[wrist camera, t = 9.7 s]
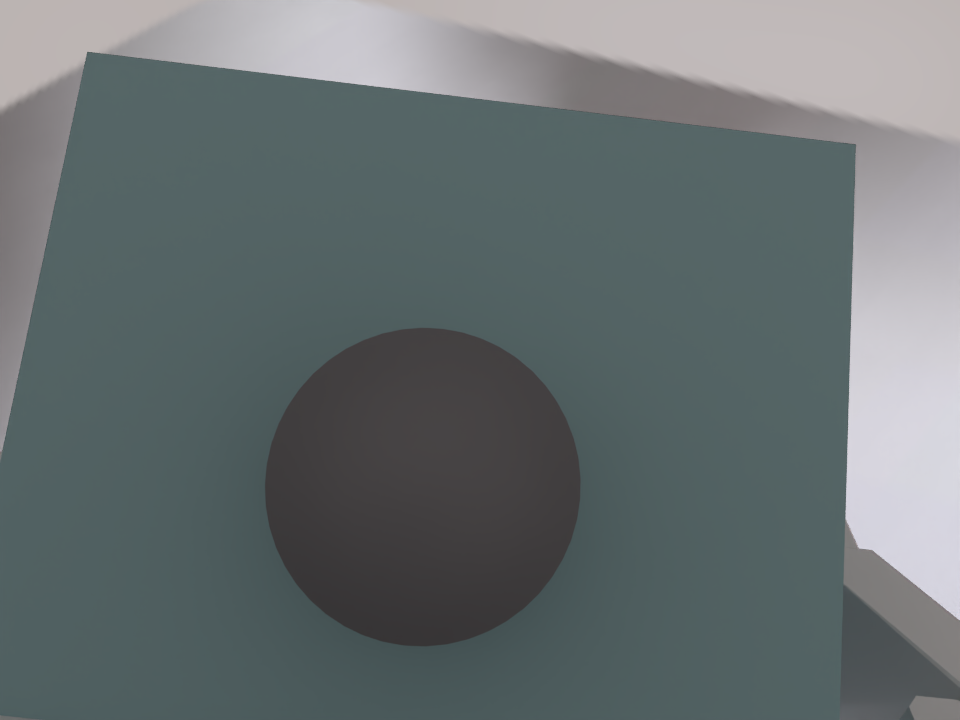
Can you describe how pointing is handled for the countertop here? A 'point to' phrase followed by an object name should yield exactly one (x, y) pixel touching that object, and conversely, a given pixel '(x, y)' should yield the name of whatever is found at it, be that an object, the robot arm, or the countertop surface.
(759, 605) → the cover
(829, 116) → the countertop surface
